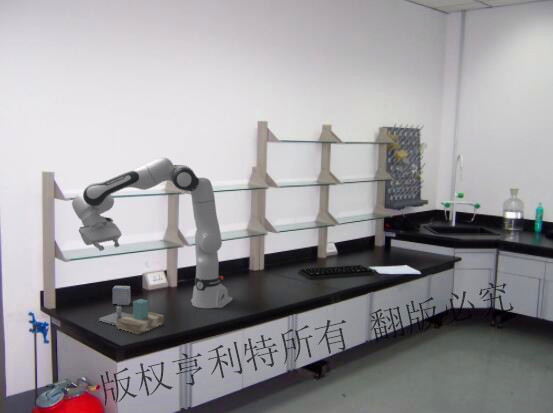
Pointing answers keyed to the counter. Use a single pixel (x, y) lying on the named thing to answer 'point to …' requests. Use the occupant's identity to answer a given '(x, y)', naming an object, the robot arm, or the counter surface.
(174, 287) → the counter surface
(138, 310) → the teal square-faced block
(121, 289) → the medicine box
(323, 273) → the computer keyboard
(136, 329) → the riser block
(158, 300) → the counter surface
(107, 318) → the post stand
